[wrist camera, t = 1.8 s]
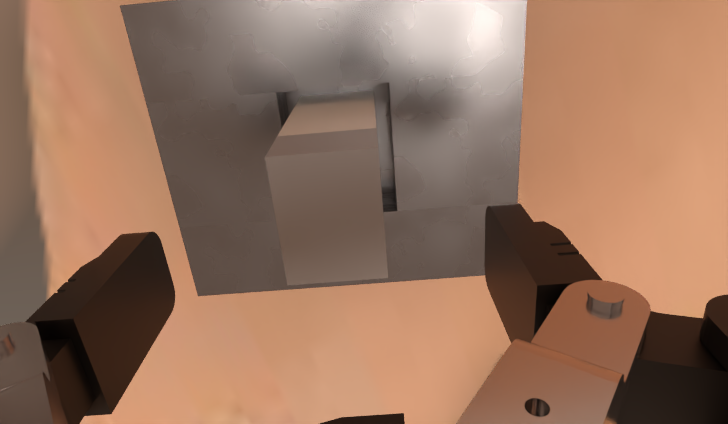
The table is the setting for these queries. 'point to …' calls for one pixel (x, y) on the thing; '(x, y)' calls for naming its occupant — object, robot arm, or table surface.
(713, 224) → the table surface
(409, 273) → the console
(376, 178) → the plug
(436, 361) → the table surface
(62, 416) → the robot arm
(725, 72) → the table surface
